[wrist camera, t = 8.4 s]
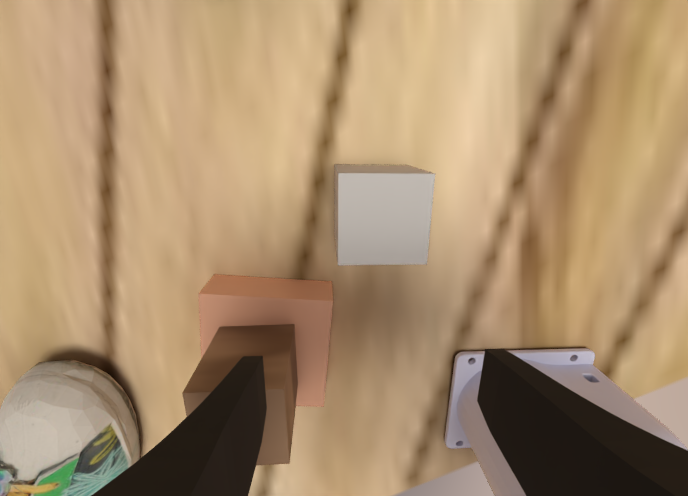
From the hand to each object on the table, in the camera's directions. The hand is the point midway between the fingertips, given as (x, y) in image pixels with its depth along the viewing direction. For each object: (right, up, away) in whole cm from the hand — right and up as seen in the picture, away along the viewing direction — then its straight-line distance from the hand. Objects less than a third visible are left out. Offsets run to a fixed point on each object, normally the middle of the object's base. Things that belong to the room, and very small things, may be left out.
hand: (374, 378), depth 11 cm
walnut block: (-6, -2, +8) cm, 10 cm away
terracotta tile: (-6, -1, +11) cm, 12 cm away
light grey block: (0, +7, +8) cm, 11 cm away
